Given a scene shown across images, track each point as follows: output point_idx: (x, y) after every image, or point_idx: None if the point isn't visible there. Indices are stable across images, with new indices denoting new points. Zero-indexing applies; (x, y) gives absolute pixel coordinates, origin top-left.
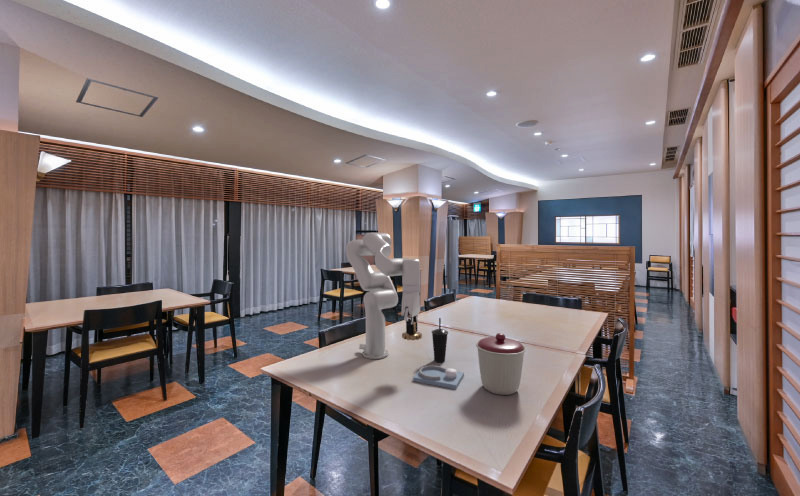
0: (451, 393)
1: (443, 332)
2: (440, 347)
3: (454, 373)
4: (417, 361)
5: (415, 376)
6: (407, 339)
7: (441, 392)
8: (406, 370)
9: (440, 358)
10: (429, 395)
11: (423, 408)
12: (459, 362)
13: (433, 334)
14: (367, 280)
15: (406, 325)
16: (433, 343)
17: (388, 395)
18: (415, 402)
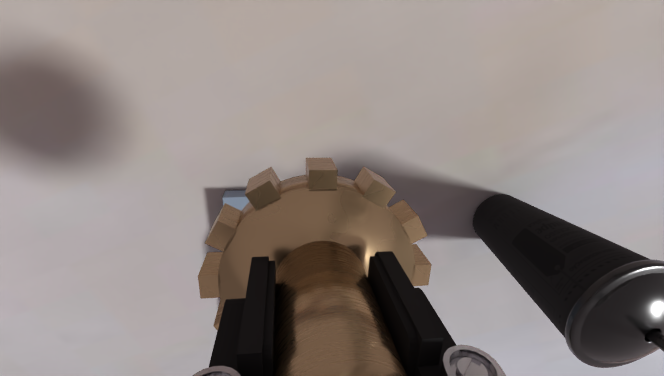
0: (199, 347)
1: (599, 357)
2: (515, 274)
3: None
4: (466, 121)
5: (236, 204)
6: (206, 260)
7: (186, 319)
8: (330, 112)
9: (483, 239)
10: (135, 293)
11: (23, 310)
12: (496, 291)
13: (589, 283)
14: None
15: (242, 334)
16: (546, 240)
17: (14, 148)
18: (44, 271)
